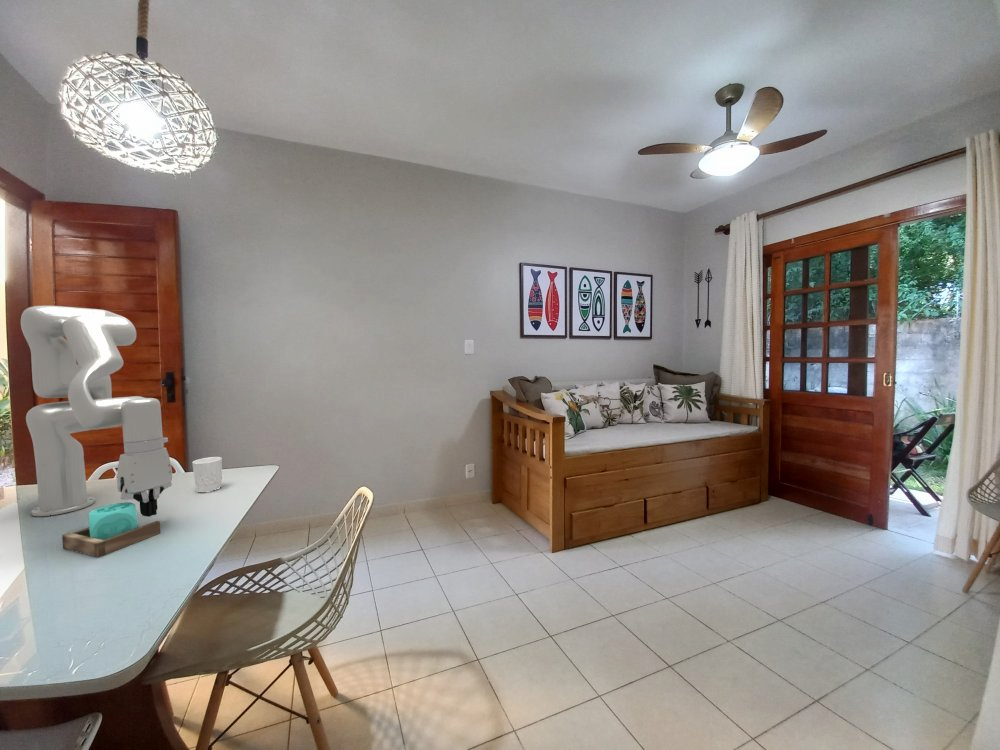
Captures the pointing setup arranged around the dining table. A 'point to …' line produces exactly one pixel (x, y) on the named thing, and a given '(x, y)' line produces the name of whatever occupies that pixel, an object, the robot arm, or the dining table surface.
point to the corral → (107, 540)
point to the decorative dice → (112, 520)
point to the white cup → (207, 473)
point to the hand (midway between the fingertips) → (149, 514)
